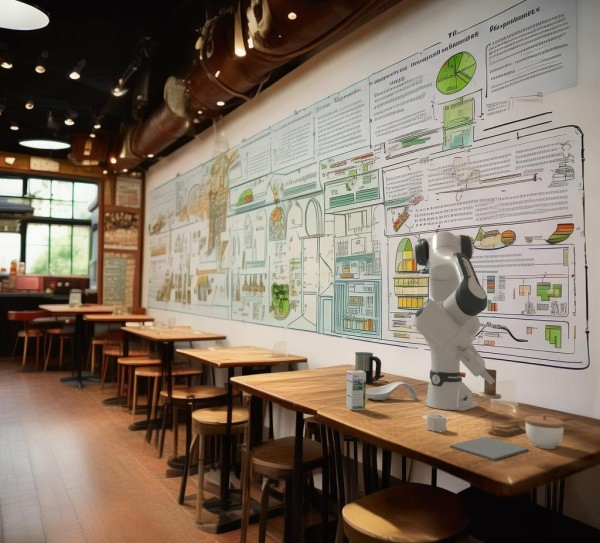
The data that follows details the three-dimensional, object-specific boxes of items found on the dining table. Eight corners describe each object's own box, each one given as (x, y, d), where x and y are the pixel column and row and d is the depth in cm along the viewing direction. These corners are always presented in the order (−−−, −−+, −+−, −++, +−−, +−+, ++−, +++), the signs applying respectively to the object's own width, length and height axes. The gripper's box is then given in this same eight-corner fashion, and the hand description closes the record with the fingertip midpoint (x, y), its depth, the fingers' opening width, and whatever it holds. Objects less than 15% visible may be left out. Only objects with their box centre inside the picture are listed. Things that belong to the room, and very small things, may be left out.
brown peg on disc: (486, 394, 157) (487, 368, 157) (505, 397, 152) (506, 370, 152) (474, 395, 153) (475, 369, 154) (493, 399, 148) (494, 372, 149)
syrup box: (351, 411, 195) (352, 372, 196) (345, 407, 201) (346, 369, 202) (365, 410, 197) (366, 371, 198) (359, 407, 203) (360, 369, 203)
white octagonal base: (434, 426, 176) (434, 413, 176) (449, 430, 171) (449, 416, 172) (422, 428, 172) (423, 415, 173) (437, 433, 168) (438, 419, 168)
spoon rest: (371, 403, 213) (371, 385, 213) (358, 397, 224) (359, 380, 224) (421, 401, 221) (421, 384, 221) (406, 395, 232) (407, 379, 232)
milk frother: (352, 382, 259) (353, 352, 260) (358, 378, 274) (359, 350, 275) (380, 385, 255) (381, 354, 256) (385, 380, 270) (386, 351, 271)
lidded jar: (552, 441, 163) (552, 411, 163) (571, 451, 152) (571, 419, 153) (518, 440, 163) (518, 410, 163) (535, 450, 152) (535, 418, 152)
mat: (485, 438, 163) (485, 436, 163) (528, 450, 152) (528, 448, 152) (450, 447, 152) (450, 445, 152) (493, 460, 141) (493, 458, 141)
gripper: (465, 341, 146) (502, 379, 142) (467, 336, 165) (499, 370, 162) (448, 356, 147) (484, 394, 143) (452, 349, 166) (484, 383, 163)
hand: (492, 381), depth 153 cm, fingers closed on brown peg on disc, 3 cm apart
